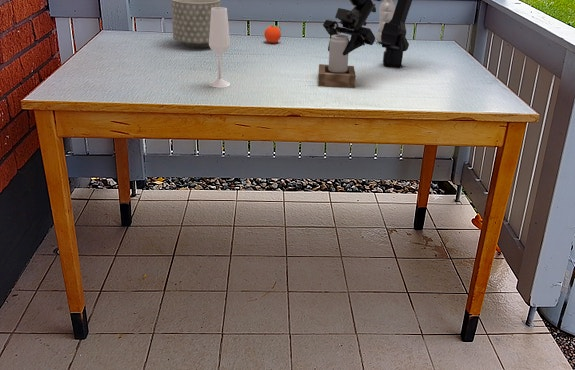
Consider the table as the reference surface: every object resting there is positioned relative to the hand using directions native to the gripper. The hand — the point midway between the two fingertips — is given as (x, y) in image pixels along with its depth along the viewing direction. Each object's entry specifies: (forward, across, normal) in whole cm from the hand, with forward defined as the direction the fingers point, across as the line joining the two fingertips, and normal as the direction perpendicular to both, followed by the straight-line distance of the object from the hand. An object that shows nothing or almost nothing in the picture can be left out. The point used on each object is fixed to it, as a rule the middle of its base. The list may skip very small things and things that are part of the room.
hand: (336, 52), depth 189 cm
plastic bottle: (-36, -23, +51) cm, 67 cm away
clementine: (-9, -52, +24) cm, 58 cm away
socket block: (+6, 0, +8) cm, 10 cm away
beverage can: (+4, 0, +6) cm, 7 cm away
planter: (+11, -68, +4) cm, 69 cm away
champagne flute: (+29, -22, -15) cm, 40 cm away
